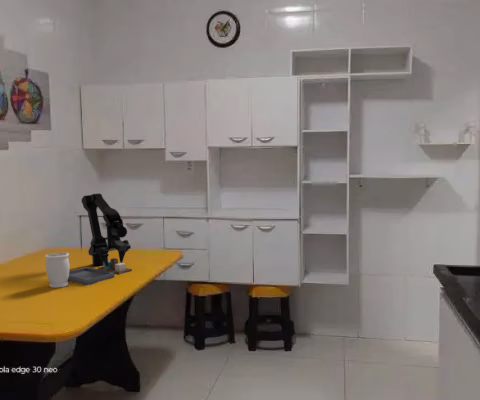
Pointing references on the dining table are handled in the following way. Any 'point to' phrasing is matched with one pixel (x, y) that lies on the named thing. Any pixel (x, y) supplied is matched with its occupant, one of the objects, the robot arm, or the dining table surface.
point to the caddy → (113, 262)
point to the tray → (89, 275)
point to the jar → (57, 269)
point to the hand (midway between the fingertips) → (114, 264)
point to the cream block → (120, 267)
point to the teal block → (108, 265)
